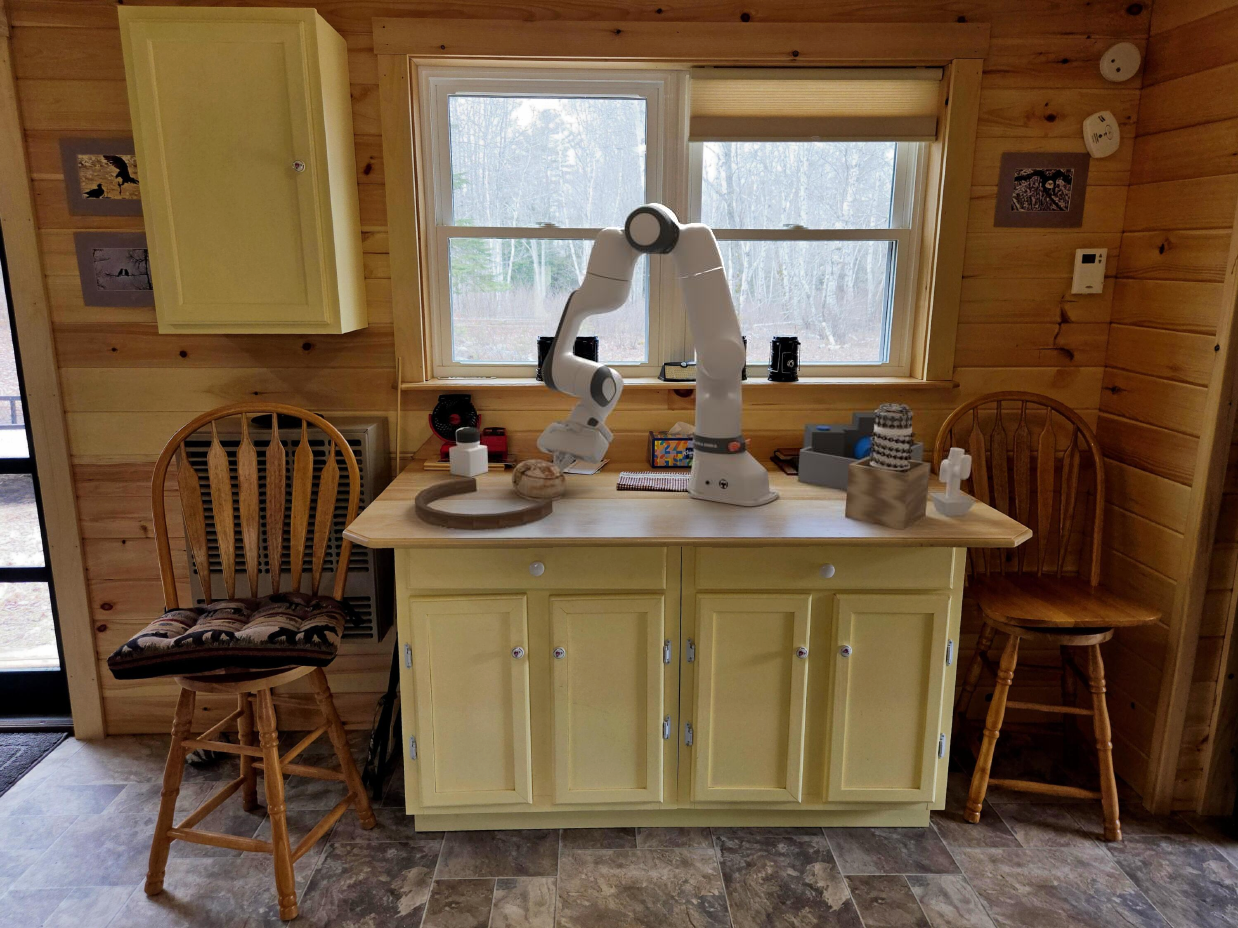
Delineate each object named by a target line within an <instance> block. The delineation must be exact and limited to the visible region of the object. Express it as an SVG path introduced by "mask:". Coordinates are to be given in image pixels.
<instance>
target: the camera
mask: <svg viewBox="0 0 1238 928" xmlns="http://www.w3.org/2000/svg"><path fill="white" fill-rule="evenodd" d="M851 416H852V417H851V423H804V436H803V439H804V440H803V449H804V448H806V447H809V446H811V447H814V448H813V452H816V453H822V454H828V455H833V456H839V457H845V458H851V459H856V460H861V459H863V458H866V457H868V456H870V453H872V452H873V451H871V449H870V444H872V443H871V442H870V440H871V439H870V438H871V437H873V435H872V433H870V431H871V430H873V431H874V425H875V422H876V412H875V411H852V415H851ZM874 441H875V439H874ZM873 448H874V447H873Z"/></svg>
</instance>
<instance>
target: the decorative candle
mask: <svg viewBox="0 0 1238 928" xmlns="http://www.w3.org/2000/svg"><path fill="white" fill-rule="evenodd" d="M874 412H876V422H875V425H874V431H873V430H871V431H870V433H872V435H873V437H871V438H870V439H871V440H870V442H871V443H872V444H870V449H871V451H873V452H872V453H870V458H871V460H870V465H871V466H872V467H873V468H878V469H884V470H890V471H895V472H901V473H906V472H907V469H908V468H910V464H909V463H907V461H908V460H911V459H912V457H911V456H910V455H908V453H909V454H910V453H912V452H913V450H912V449H911V448H909V444H910V445H911V444H913V443H914V442H915V441H914V439H912V438H914V437H915V436H916V433H915V432H913V426H912V425H913V416H914V415H915V414H914V412H912V411H911V409H910V406H908V405H906V404H902V403H883V404H881V405H879V407H878V409H875V410H874ZM874 439H875V441H874ZM873 447H874V448H873Z"/></svg>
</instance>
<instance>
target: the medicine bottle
mask: <svg viewBox="0 0 1238 928" xmlns="http://www.w3.org/2000/svg"><path fill="white" fill-rule="evenodd" d="M480 437H481V435H480V430H479V428H476V427H469V426H467V427H460V428H458V429H456V431H455V438H456V439H455V440H456V441H455V442H456V443H455V444H456V445H455V446H454V445H453V446H451V447H449V450H448V451H449V467H450V468H449V469H450V470H449V471H450V475H455V476H456V475H457V476H460V477H467V478H474V477H477V476H479V475H482V474H485V473H488V472H489V463H488V461H489V460H488V459H489V458H488V446H487V445H482V444H480V442H481V441H480V440H481V439H480Z"/></svg>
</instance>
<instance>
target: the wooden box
mask: <svg viewBox="0 0 1238 928" xmlns="http://www.w3.org/2000/svg"><path fill="white" fill-rule="evenodd" d="M870 460H871V458H870V456H868V457H866V458H863V459H861V460H859V461H856V462H854V463H851V464H849V470H848V483H847V491H846V499H845V512H844V518H849V519H854V520H856V521H857V520H858V521H861V522H866V523H872V524H874V525H876V524H877V525H880V526H884V527H888V528H892V529H898V530H904V529H905V528H907V527H909V526H911V525H912V524H914V523H915V522H917V521H918V520H920V519H922V518H924V517H925V516H926V515H927V513H926V512H927V504H928V496H929V484H930V483H929V482H930V475H931V467H932V463H931V462H925V461H922V462H920V461H914V460H908V461H907V463H909V464H910V468H908V469H907V472H906V473H901V472H895V471H890V470H884V469H878V468H873V467H872V466H871V465H870Z"/></svg>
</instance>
